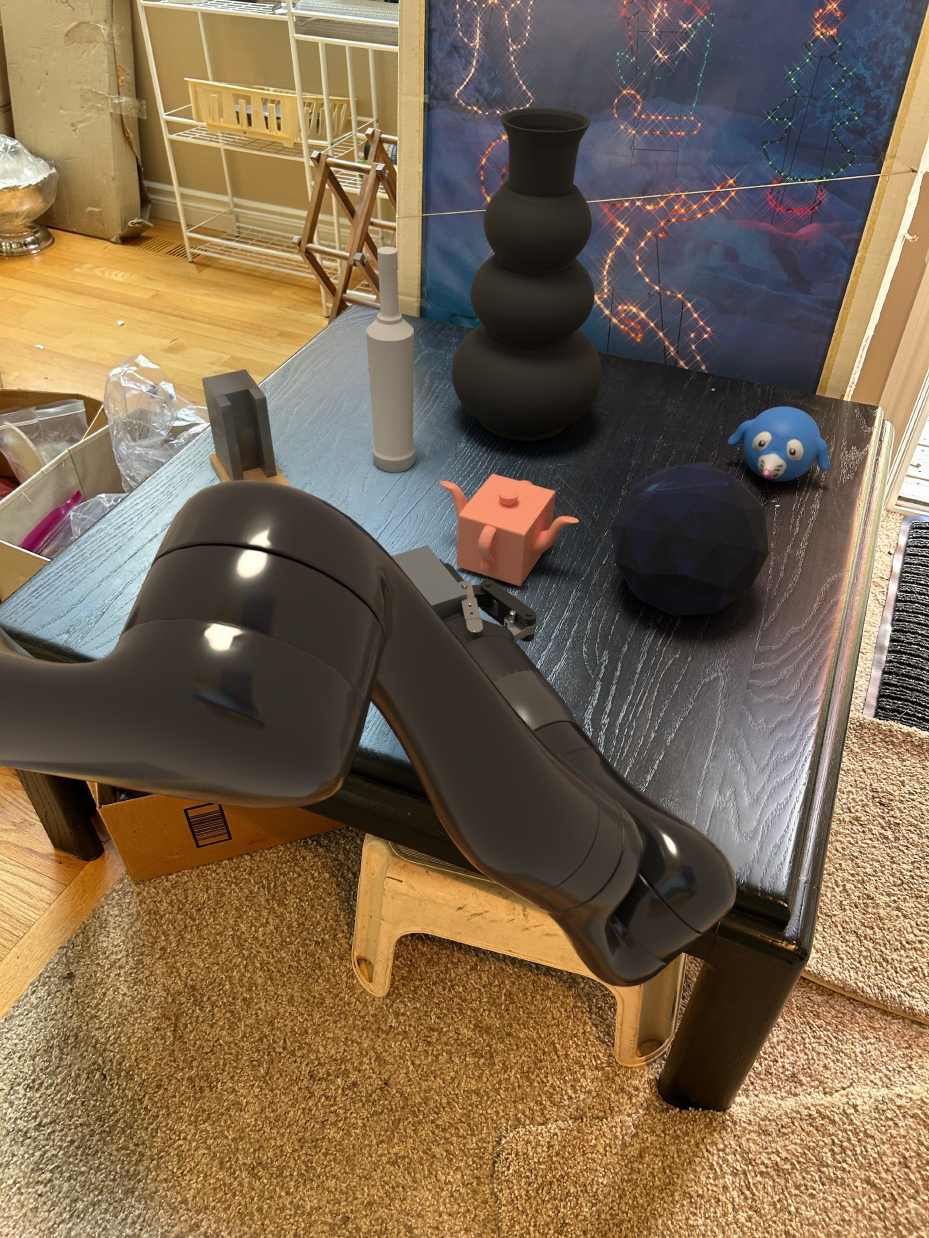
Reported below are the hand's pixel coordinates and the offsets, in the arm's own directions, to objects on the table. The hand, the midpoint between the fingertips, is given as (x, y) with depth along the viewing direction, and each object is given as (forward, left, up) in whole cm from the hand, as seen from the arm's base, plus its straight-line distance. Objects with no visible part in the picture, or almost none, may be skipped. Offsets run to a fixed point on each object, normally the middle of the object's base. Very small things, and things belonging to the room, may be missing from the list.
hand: (405, 577), depth 75 cm
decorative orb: (+29, +3, -11) cm, 31 cm away
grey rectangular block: (+1, -3, -8) cm, 8 cm away
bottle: (+7, +34, -11) cm, 37 cm away
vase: (+25, +39, -11) cm, 48 cm away
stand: (-10, +32, -11) cm, 36 cm away
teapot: (+14, +13, -11) cm, 22 cm away
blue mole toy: (+49, +19, -11) cm, 54 cm away
